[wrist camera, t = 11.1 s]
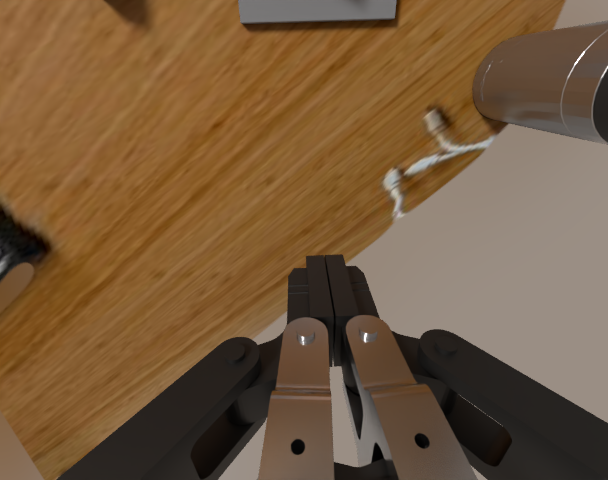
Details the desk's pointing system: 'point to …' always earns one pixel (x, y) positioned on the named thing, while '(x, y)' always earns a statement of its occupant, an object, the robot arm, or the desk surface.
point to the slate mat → (314, 10)
